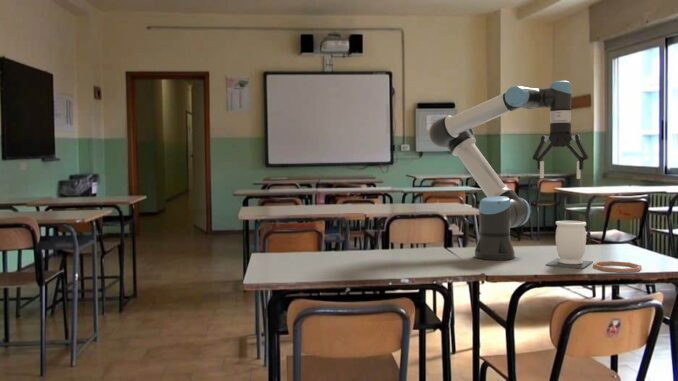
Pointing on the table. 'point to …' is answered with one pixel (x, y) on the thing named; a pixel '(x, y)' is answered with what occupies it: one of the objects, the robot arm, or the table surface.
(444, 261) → the table surface
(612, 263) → the brown wooden ring
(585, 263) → the mat
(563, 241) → the jar
